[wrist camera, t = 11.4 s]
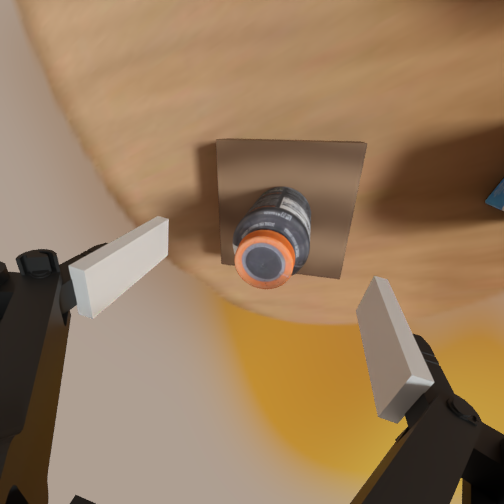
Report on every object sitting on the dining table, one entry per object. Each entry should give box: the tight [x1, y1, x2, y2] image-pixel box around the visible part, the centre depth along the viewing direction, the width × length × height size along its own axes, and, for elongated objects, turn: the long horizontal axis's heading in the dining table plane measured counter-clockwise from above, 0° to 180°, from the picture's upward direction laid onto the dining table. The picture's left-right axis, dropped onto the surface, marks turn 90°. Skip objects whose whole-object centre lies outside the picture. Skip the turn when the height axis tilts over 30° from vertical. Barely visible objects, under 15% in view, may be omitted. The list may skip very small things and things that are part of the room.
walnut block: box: [216, 139, 367, 279], centre depth 28 cm, size 14×14×4 cm
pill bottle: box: [233, 186, 311, 289], centre depth 21 cm, size 6×6×11 cm
